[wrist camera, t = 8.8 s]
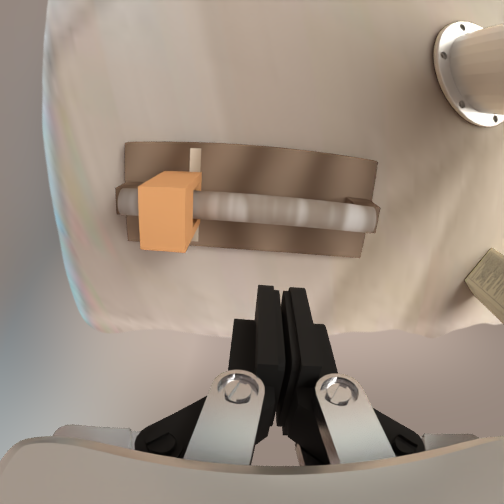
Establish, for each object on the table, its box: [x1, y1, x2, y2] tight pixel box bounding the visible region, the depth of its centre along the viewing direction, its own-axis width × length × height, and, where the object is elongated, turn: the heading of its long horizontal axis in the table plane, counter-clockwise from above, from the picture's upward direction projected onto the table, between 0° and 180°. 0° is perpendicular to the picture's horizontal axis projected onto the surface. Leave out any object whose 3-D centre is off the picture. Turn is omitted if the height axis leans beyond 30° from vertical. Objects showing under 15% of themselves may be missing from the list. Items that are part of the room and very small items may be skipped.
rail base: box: [115, 142, 380, 258], centre depth 27 cm, size 24×10×5 cm, turn 86°
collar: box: [138, 171, 202, 253], centre depth 25 cm, size 4×5×7 cm
